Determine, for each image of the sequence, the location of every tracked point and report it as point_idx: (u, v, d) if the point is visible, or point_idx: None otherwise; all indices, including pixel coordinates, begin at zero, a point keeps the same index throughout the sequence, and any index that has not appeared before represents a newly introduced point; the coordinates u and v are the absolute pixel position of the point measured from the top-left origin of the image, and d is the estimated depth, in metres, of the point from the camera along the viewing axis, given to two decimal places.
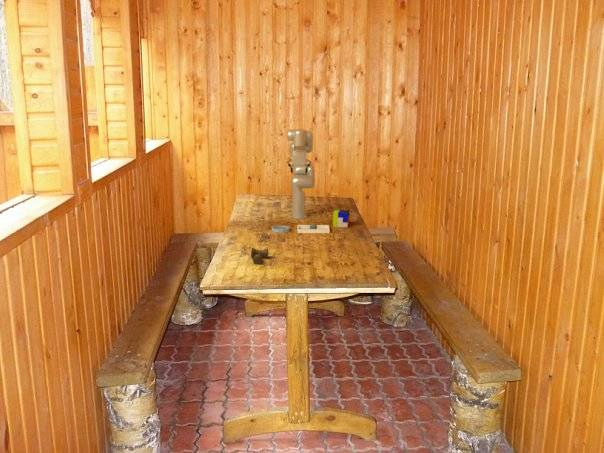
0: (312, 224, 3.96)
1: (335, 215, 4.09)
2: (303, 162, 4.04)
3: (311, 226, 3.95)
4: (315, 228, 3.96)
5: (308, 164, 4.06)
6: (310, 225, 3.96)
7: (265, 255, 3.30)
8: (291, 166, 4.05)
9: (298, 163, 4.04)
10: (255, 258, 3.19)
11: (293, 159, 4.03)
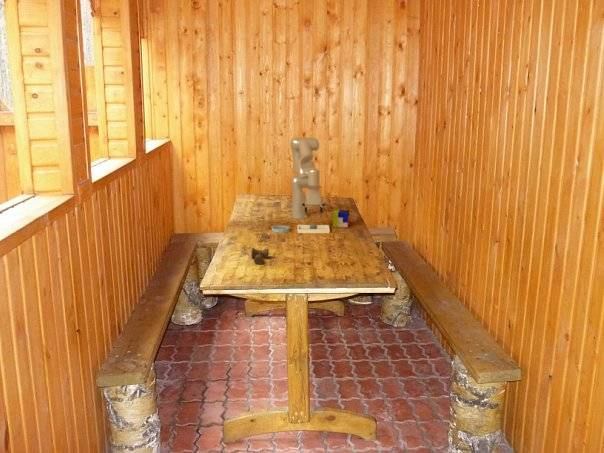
0: (312, 224, 3.96)
1: (335, 215, 4.09)
2: (318, 202, 3.91)
3: (311, 226, 3.95)
4: (315, 228, 3.96)
5: (323, 204, 3.93)
6: (310, 225, 3.96)
7: (265, 255, 3.30)
8: (305, 206, 3.92)
9: (313, 203, 3.91)
10: (256, 258, 3.19)
11: (308, 199, 3.91)
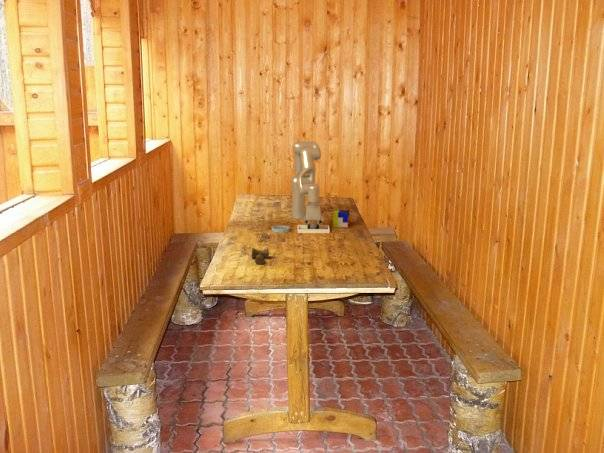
0: (312, 224, 3.96)
1: (335, 215, 4.09)
2: (318, 217, 3.94)
3: (311, 226, 3.95)
4: (315, 228, 3.96)
5: (320, 221, 3.96)
6: (310, 225, 3.96)
7: (266, 255, 3.30)
8: (308, 223, 3.95)
9: (312, 218, 3.94)
10: (257, 258, 3.19)
11: (307, 214, 3.93)
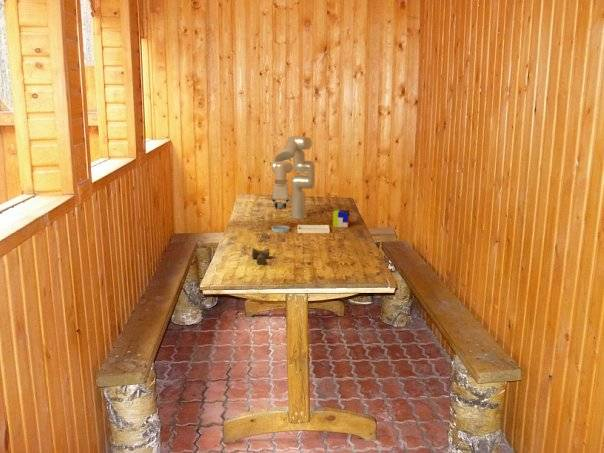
0: (279, 203, 3.92)
1: (335, 215, 4.09)
2: (285, 196, 3.90)
3: (278, 205, 3.92)
4: (282, 207, 3.92)
5: (287, 199, 3.92)
6: (277, 204, 3.93)
7: (266, 255, 3.30)
8: (275, 201, 3.92)
9: (279, 197, 3.91)
10: (259, 258, 3.18)
11: (274, 193, 3.90)
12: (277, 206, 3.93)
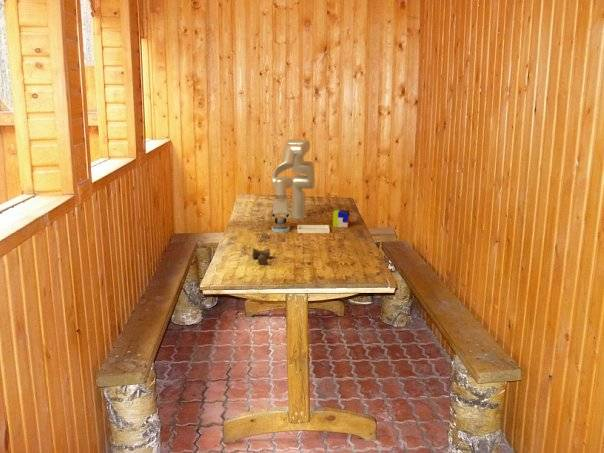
0: (279, 218, 3.94)
1: (335, 215, 4.09)
2: (285, 211, 3.93)
3: (278, 220, 3.94)
4: (282, 222, 3.94)
5: (287, 214, 3.95)
6: (277, 219, 3.95)
7: (267, 255, 3.30)
8: (275, 216, 3.94)
9: (279, 212, 3.93)
10: (260, 259, 3.18)
11: (274, 208, 3.92)
12: (277, 221, 3.95)
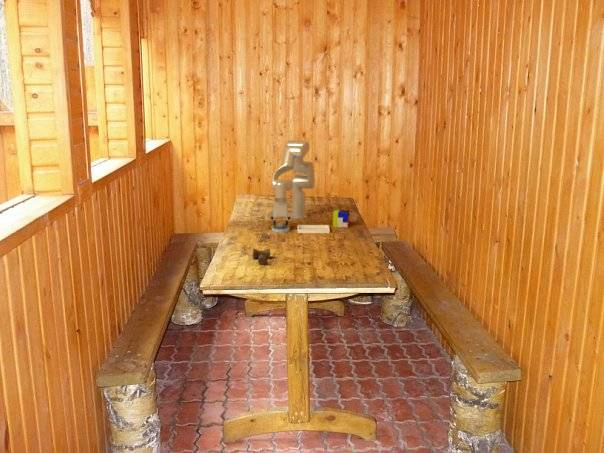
0: (280, 223, 3.95)
1: (335, 215, 4.09)
2: (285, 214, 3.93)
3: (278, 225, 3.95)
4: (282, 227, 3.95)
5: (288, 217, 3.95)
6: (278, 224, 3.96)
7: (267, 255, 3.30)
8: (274, 219, 3.95)
9: (280, 215, 3.93)
10: (260, 259, 3.18)
11: (274, 211, 3.93)
12: (277, 226, 3.96)
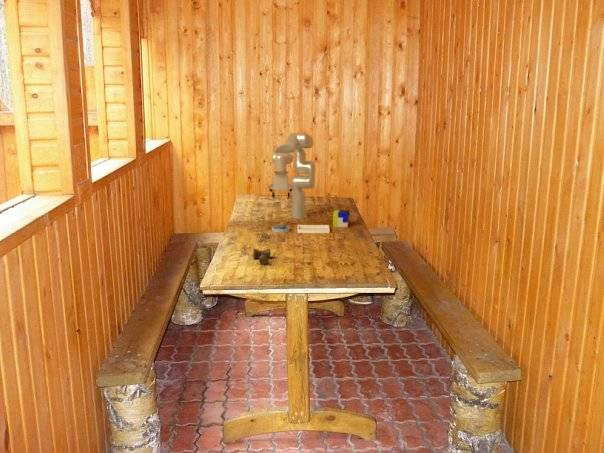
0: (282, 223, 3.95)
1: (335, 215, 4.09)
2: (285, 187, 3.93)
3: (281, 224, 3.95)
4: (283, 228, 3.95)
5: (290, 189, 3.95)
6: (280, 223, 3.96)
7: (268, 255, 3.30)
8: (273, 191, 3.94)
9: (280, 188, 3.93)
10: (262, 259, 3.18)
11: (275, 184, 3.92)
12: (279, 225, 3.95)
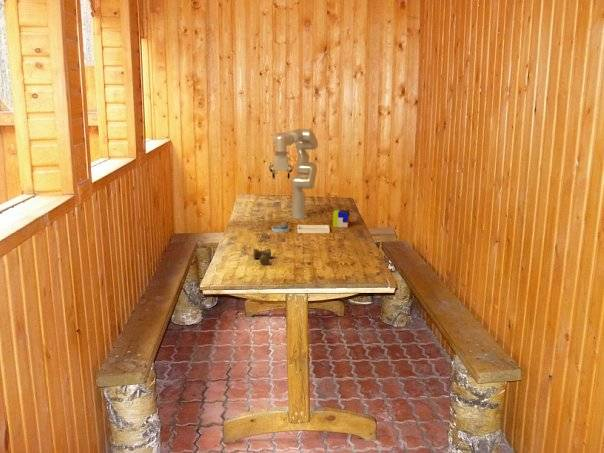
0: (285, 223, 3.95)
1: (335, 215, 4.09)
2: (285, 167, 3.99)
3: (283, 224, 3.95)
4: (284, 228, 3.95)
5: None
6: (283, 222, 3.96)
7: (268, 255, 3.30)
8: (273, 171, 4.01)
9: (280, 168, 4.00)
10: (262, 259, 3.18)
11: (275, 164, 3.99)
12: (281, 224, 3.95)
